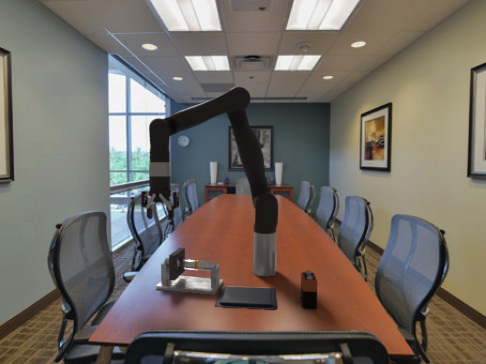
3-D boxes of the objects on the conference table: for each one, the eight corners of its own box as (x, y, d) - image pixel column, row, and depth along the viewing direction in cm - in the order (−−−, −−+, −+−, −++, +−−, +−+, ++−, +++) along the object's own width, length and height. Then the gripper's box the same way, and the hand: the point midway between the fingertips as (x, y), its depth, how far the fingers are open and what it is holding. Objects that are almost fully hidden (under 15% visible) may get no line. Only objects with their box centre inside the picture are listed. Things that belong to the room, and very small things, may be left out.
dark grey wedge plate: (185, 270, 106) (184, 247, 105) (174, 280, 97) (174, 255, 97) (180, 270, 106) (179, 247, 106) (169, 280, 98) (169, 255, 97)
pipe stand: (223, 282, 104) (223, 257, 103) (215, 295, 94) (215, 267, 93) (169, 277, 108) (168, 252, 107) (155, 288, 98) (155, 261, 98)
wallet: (213, 303, 86) (222, 282, 101) (213, 309, 86) (222, 287, 101) (277, 307, 84) (277, 285, 99) (277, 313, 84) (276, 290, 99)
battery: (313, 298, 92) (314, 269, 91) (317, 309, 85) (317, 278, 84) (300, 298, 92) (301, 269, 92) (302, 308, 86) (303, 277, 85)
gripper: (182, 174, 103) (182, 218, 104) (147, 174, 105) (148, 216, 107) (173, 175, 95) (173, 222, 96) (136, 175, 98) (137, 220, 99)
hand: (160, 219), depth 101 cm, fingers open, 7 cm apart
